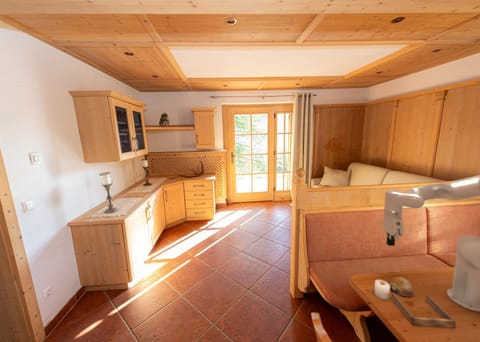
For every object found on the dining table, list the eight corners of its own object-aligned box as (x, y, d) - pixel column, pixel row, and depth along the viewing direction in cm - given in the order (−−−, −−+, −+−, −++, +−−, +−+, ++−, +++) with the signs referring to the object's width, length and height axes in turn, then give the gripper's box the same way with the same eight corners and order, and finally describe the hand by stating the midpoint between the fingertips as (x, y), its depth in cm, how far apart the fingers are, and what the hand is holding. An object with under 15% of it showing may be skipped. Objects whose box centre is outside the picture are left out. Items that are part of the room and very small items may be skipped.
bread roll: (413, 305, 94) (423, 292, 92) (392, 294, 95) (401, 282, 94) (401, 289, 104) (409, 278, 102) (382, 280, 105) (390, 269, 103)
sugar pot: (384, 290, 99) (385, 277, 98) (392, 299, 93) (393, 285, 92) (371, 289, 100) (372, 276, 99) (378, 299, 94) (379, 285, 93)
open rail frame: (427, 300, 92) (427, 294, 92) (455, 327, 79) (456, 321, 78) (391, 298, 94) (391, 292, 94) (412, 325, 81) (413, 318, 80)
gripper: (411, 218, 95) (407, 253, 98) (391, 208, 110) (389, 238, 113) (394, 218, 96) (391, 252, 99) (377, 208, 111) (375, 238, 114)
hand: (390, 244), depth 106 cm, fingers closed
